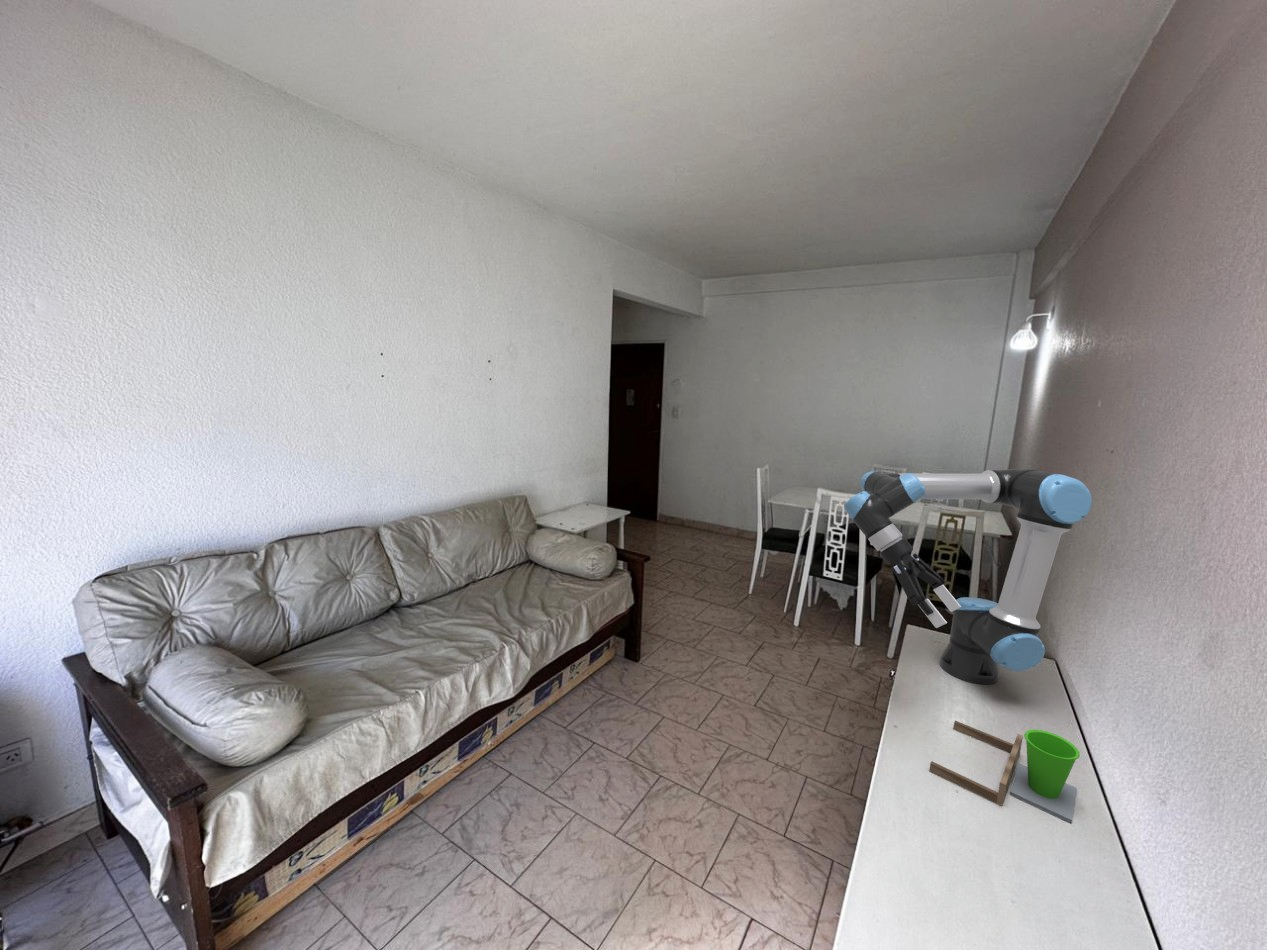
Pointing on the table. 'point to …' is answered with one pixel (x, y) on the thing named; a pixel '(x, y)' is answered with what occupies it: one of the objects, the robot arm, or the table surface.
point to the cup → (1048, 762)
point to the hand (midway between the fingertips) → (949, 617)
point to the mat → (1056, 807)
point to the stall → (974, 786)
